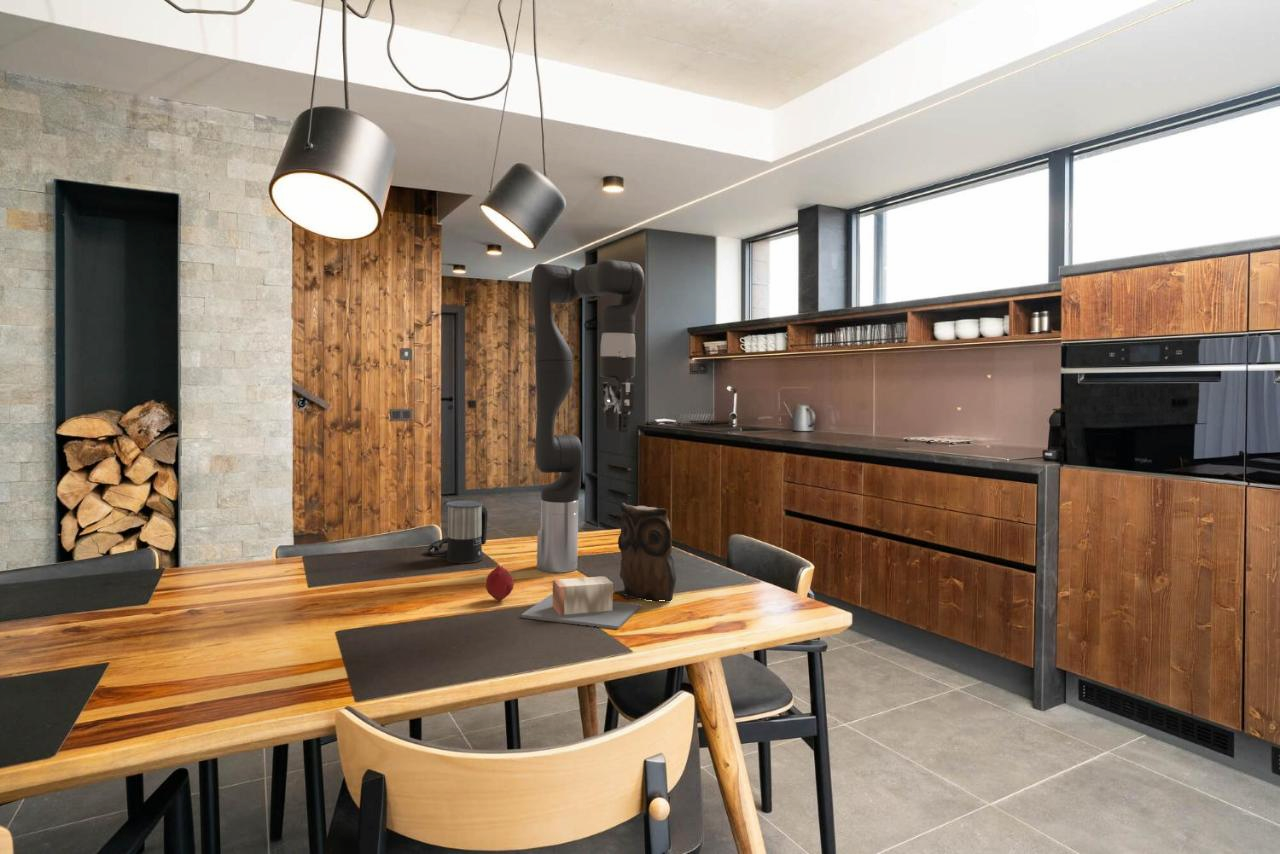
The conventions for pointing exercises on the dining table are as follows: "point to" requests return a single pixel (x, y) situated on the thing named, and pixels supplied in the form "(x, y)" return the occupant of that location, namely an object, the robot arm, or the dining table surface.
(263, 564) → the dining table surface
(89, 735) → the dining table surface
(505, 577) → the onion
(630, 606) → the mat
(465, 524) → the milk frother
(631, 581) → the owl
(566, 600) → the block
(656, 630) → the dining table surface
